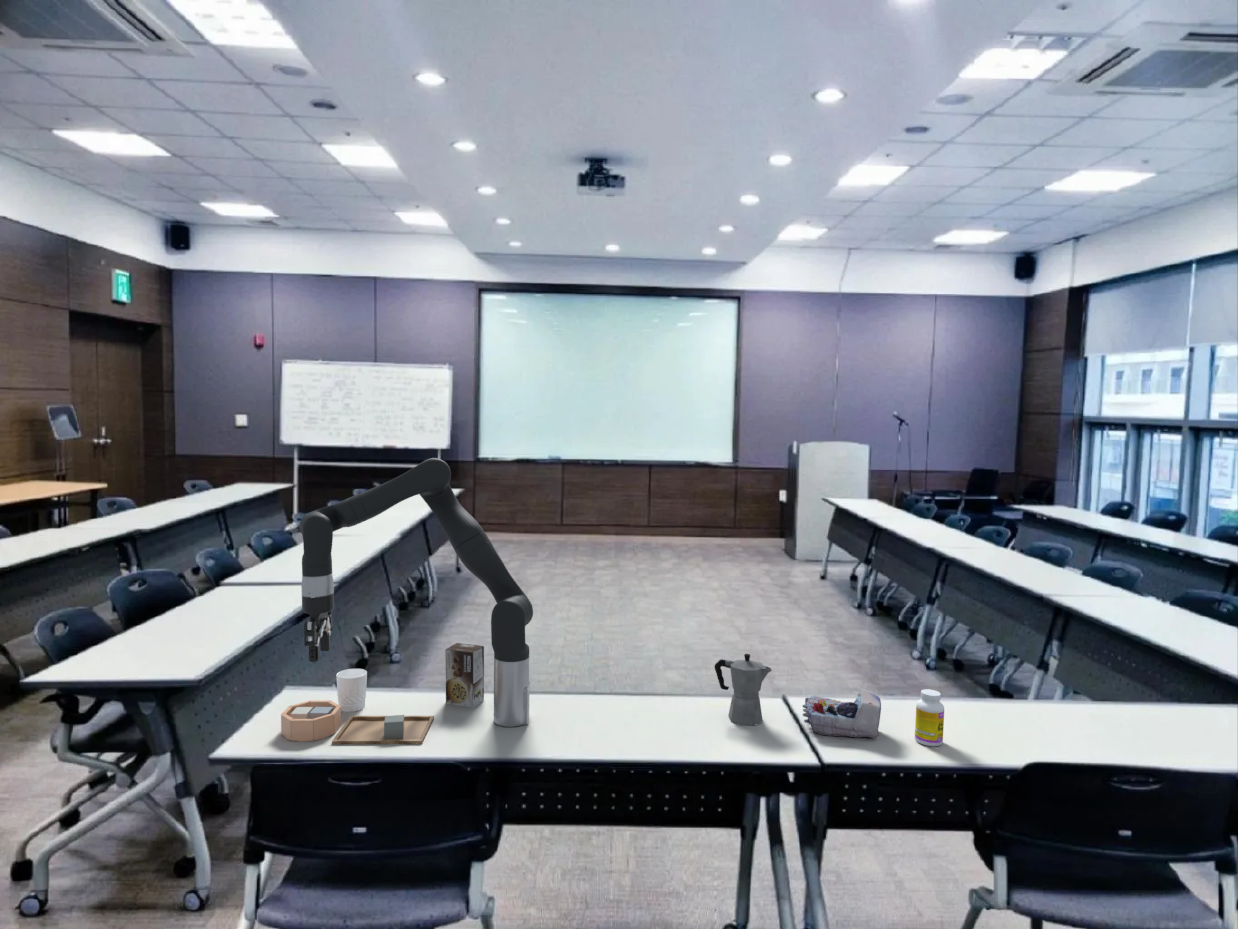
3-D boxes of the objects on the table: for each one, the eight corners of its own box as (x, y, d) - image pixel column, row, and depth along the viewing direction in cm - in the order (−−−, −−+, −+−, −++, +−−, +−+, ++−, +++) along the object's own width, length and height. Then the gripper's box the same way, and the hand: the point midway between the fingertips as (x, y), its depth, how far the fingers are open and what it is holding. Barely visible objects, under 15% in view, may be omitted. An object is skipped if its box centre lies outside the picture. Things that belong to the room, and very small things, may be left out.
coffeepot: (772, 716, 210) (774, 652, 208) (767, 729, 201) (769, 662, 199) (717, 708, 215) (718, 645, 213) (709, 720, 206) (711, 655, 205)
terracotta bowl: (345, 722, 200) (345, 700, 200) (329, 743, 187) (329, 720, 187) (294, 722, 200) (294, 700, 199) (275, 743, 187) (274, 720, 186)
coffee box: (484, 701, 216) (485, 645, 215) (473, 710, 210) (473, 652, 209) (456, 697, 219) (456, 642, 218) (444, 705, 213) (444, 648, 212)
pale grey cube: (313, 726, 196) (312, 707, 195) (307, 733, 191) (306, 713, 191) (297, 726, 195) (296, 707, 195) (290, 733, 191) (290, 713, 191)
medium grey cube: (404, 731, 194) (404, 714, 193) (403, 738, 190) (403, 721, 189) (385, 733, 193) (385, 716, 192) (384, 740, 188) (384, 722, 188)
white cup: (361, 715, 205) (360, 678, 205) (331, 714, 205) (331, 677, 205) (371, 704, 213) (371, 668, 212) (343, 703, 213) (342, 668, 213)
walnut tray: (434, 720, 202) (434, 715, 202) (422, 746, 187) (422, 740, 187) (351, 721, 201) (351, 715, 201) (331, 746, 186) (331, 741, 186)
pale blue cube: (333, 726, 196) (333, 707, 195) (327, 732, 192) (327, 713, 191) (315, 726, 196) (315, 706, 195) (309, 732, 192) (309, 713, 191)
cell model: (885, 702, 192) (803, 697, 196) (884, 744, 193) (802, 738, 197) (878, 684, 205) (801, 679, 209) (877, 723, 206) (801, 718, 210)
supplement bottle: (940, 749, 190) (942, 699, 190) (912, 743, 194) (914, 693, 193) (944, 740, 196) (947, 691, 195) (917, 734, 200) (919, 686, 199)
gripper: (312, 586, 198) (314, 647, 199) (292, 599, 184) (294, 665, 185) (341, 585, 199) (343, 647, 200) (324, 598, 185) (326, 664, 186)
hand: (319, 655), depth 192 cm, fingers open, 8 cm apart
